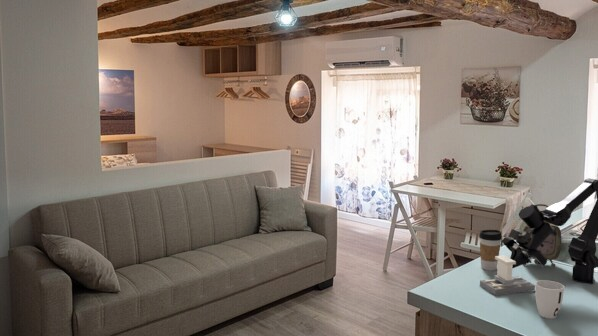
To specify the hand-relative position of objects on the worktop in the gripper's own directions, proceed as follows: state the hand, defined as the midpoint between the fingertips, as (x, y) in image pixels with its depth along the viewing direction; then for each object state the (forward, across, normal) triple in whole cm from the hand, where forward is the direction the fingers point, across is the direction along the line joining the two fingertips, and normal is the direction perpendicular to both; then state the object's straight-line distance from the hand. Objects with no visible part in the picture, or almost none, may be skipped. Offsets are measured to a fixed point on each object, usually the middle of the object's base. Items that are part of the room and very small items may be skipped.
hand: (507, 268), depth 185 cm
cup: (+6, +23, +4) cm, 24 cm away
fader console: (+5, 0, +5) cm, 7 cm away
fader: (+4, 0, +2) cm, 5 cm away
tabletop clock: (-14, -19, +25) cm, 34 cm away
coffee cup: (+1, -20, +10) cm, 23 cm away
